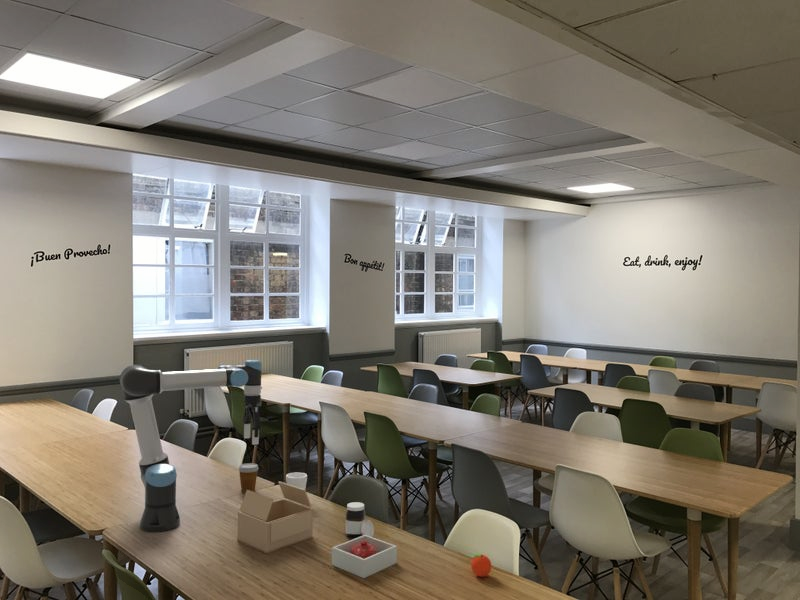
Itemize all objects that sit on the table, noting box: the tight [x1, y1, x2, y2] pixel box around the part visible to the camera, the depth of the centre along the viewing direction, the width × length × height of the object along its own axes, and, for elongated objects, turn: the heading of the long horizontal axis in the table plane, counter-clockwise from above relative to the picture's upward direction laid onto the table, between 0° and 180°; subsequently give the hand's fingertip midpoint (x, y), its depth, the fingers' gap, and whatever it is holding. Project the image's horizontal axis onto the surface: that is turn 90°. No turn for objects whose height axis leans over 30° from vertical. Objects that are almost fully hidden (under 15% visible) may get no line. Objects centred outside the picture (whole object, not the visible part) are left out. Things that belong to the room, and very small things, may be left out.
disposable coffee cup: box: [238, 462, 259, 493], centre depth 301 cm, size 10×10×12 cm
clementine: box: [468, 553, 493, 578], centre depth 212 cm, size 8×7×7 cm
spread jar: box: [345, 501, 375, 538], centre depth 246 cm, size 12×11×12 cm
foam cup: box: [285, 472, 308, 506], centre depth 282 cm, size 10×9×13 cm
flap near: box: [238, 490, 275, 521], centre depth 234 cm, size 8×16×1 cm
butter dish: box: [350, 540, 377, 559], centre depth 219 cm, size 12×12×8 cm
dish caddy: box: [331, 535, 398, 579], centre depth 220 cm, size 17×16×6 cm
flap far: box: [277, 481, 312, 508], centre depth 248 cm, size 8×16×1 cm
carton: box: [236, 498, 314, 554], centre depth 241 cm, size 22×19×11 cm
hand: (251, 441), depth 283 cm, fingers open, 13 cm apart
